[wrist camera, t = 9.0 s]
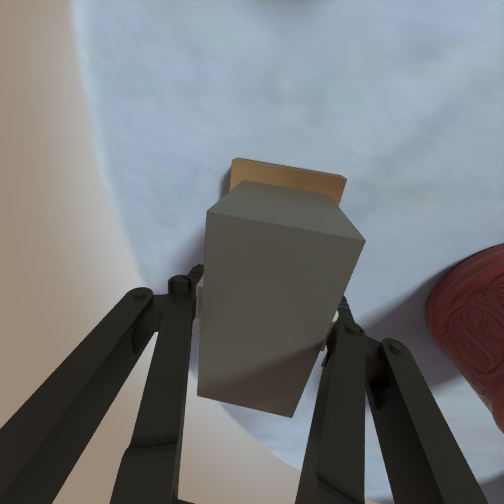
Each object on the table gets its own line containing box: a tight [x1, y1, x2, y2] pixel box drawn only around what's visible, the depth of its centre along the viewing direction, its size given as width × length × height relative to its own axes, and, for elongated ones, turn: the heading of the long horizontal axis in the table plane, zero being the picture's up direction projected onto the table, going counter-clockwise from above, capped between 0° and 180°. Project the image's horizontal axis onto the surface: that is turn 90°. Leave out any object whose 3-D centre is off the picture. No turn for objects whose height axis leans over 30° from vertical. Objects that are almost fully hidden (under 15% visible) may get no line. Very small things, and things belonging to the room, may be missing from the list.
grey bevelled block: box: [197, 180, 366, 418], centre depth 15 cm, size 12×6×8 cm, turn 172°
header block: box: [229, 158, 347, 206], centre depth 17 cm, size 14×8×6 cm, turn 172°
